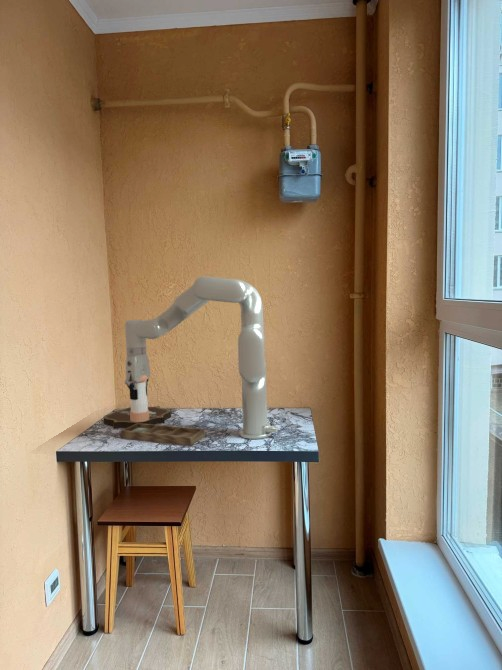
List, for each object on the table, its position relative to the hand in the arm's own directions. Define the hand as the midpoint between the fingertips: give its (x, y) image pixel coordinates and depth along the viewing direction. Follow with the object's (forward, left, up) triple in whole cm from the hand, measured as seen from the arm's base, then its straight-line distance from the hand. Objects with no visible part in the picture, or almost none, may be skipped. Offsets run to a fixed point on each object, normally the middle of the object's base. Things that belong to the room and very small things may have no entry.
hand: (138, 397), depth 181 cm
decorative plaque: (+15, -19, -16) cm, 29 cm away
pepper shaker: (0, 0, -9) cm, 9 cm away
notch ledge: (-10, 0, -15) cm, 18 cm away
